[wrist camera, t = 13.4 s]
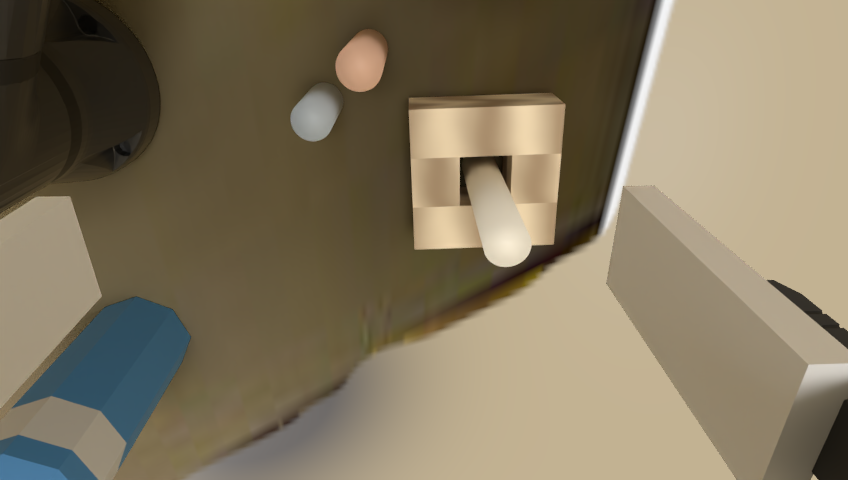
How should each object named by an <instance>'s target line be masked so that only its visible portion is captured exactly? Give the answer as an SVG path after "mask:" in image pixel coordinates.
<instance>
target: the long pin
mask: <svg viewBox="0 0 848 480" xmlns="http://www.w3.org/2000/svg"><path fill="white" fill-rule="evenodd" d="M462 171H463V175H464V179H465V183H466V186H467V190H468V194H469V197H470V201H471V205H472V209H473V212H474V216H475V220H476V224H477V227H478V231H479V235H480V239H481V242H482V246H483V250H484V253H485V256H486V257H487V259H488V260H489V261H490V262H491V263H493V264H495V265H497V266H501V267H511V266H514V265H517V264H519V263H521V262H522V261H523V260H524V259H525V258H526V257H527V256H528V254H529V252H530V250H531V238H530V235H529V233H528V231H527V229H526V227H525V224H524V222H523V220H522V218H521V216H520V214H519V211H518V209H517V207H516V205H515V203H514V201H513V198H512V196H511V194H510V192H509V190H508V187H507V185H506V183H505V181H504V179H503V177H502V174H501V172H500V170H499V168H498V166H497V164H496V161H495V159H494V157H493V156H480V157H464V158H463V160H462Z"/></svg>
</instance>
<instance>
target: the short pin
mask: <svg viewBox="0 0 848 480" xmlns="http://www.w3.org/2000/svg"><path fill="white" fill-rule="evenodd" d="M342 107H343V97H342V94H341V92H340V91H339V89H338V88H337V87H336V86H334V85H333V84H330V83H326V82H322V83H318V84H316V85H314V86H313V87H312V88H311V89H310V90H309V91H308V92H307V93H306V95H305V96H304V97H303V98H302V99H301V100H300V101H299V103H298V104H297V105H296V106H295V107H294V109H293V110H292V113H291V125H292V128H293V130H294V131H295V133H296V134H297V135H298V136H300V137H301V138H303V139H305V140H308V141H319V140H322V139H323V138H325V137H326V136H327V135H328V134H329V133H330V131H331V129H332V127H333V125H334V123H335V121H336V119H337V117H338V115H339V113H340V111H341V109H342Z"/></svg>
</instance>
